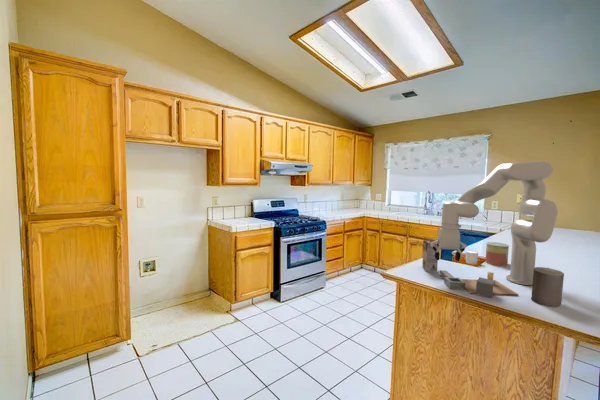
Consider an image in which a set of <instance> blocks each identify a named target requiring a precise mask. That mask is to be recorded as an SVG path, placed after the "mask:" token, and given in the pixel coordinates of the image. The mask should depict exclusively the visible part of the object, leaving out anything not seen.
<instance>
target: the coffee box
mask: <svg viewBox="0 0 600 400" xmlns="http://www.w3.org/2000/svg"><path fill="white" fill-rule="evenodd" d="M422 241H423V243H422V244H423V245H422V269H424V271H425V272H426V273H427V272H428V273H438V264H439V263H438V262H439V260H437V259H436V258H435V251H434V249H433V248H432V246H431V244H430V243H431V242H433V241H434V240H428V239H424V240H422ZM434 246H435V248H436V247H437V246H436V244H434Z"/></svg>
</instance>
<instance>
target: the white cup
mask: <svg viewBox="0 0 600 400" xmlns="http://www.w3.org/2000/svg"><path fill="white" fill-rule="evenodd" d="M464 252H465V262H466V264H468V265H477V263H478V259H479V258H478V257H479V252H478V251H476V250H475V251H474V250H464Z"/></svg>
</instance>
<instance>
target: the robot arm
mask: <svg viewBox="0 0 600 400" xmlns="http://www.w3.org/2000/svg"><path fill="white" fill-rule="evenodd" d="M553 171H554V168H553V166H552V164H551V163H550V162H548V161H545V160H539V161H537V160H536V161H526V162H525V161H524V162H522V161H521V162H504V163H500V164H499V165H498V166H496V167H495V168H494V169H493V170H491V172H490V173H489V174H488V175H487V176H486V177H485V178H484V179H483V180H482V181H481V182H480V183H479V184H477V185H475V186H474V187H472V188H471V189H468V190H467V191H465V192H464V193H463V194H462V195H460V196H459V197H458V199H456V201H455V202H454V201H445V202H444V203H443V204H442V210H441V211H442V212H441V225H440V228H439V229H438V231H437V234H436V235H437V236H436V239H435V240H433V242H431V243H430V244H431V246H432V248H433V249H434V251H435V258H436V259H437V260H438V261H439V260H440V251H441V250H454V251H456V252H455V257H454V258H455V259H454V260H455V261H457V262H460V260H461V254H462V253H463V252H465V251H466V250H465V249H466V248H467V247H468V245H467V244H466V243H464V242H463V241H461V233H460V230H459V229H460V228H462V225H461V224H459V222H460V221H459V219H460V218H467V219H473V218H475V217H477V216H478V214H479V213H480V208H479V207H478V205H476V203H477V202H479V201H481V200H484V199H488V198H491V197H494V196H496V195H497V194H498V193H499V192H500V190H502V189H503V188H504V187H505V186H506V185H507V184H508V183H509V182H510V181H513V182H514V181H515V182H517V181H518V182H519V181H521V183H522V186H523V193H522V195H521V199H520V204H519V214H521V215H522V216H524V217H526V219H525V218H522V219H521V218H519V219H516V220H514V221H513V222H512V223H511V226H510V235H511V256H510V257H511V259H510V270H509V272H510V273H509V274H508V275H506V280H507V281H509V282H511V283H513V284H517V285H522V286H527V287H528V286H530V287H531V286H532V283H533V273H534V268H535V267H536V256H537V245H536V243H546V242H547V241H549V239H551V237H552V235H553V232H554V230H555V226H556V221H557V216H558V206H557V204H556V203H555V202H554V201H552V200H550V199H545V198H546V191H547V188H546V187H547V186H546V183H545V181H544V180H545V179H547V178H549V177H550V176H551V175H552V174H553ZM527 217H528V218H532V219H527ZM434 244H436V246H437V247H436V248H435V246H434Z"/></svg>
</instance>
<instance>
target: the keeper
mask: <svg viewBox="0 0 600 400" xmlns="http://www.w3.org/2000/svg"><path fill="white" fill-rule="evenodd" d="M476 280H477V284H476V294H475V295H477V296H482V297H486V298H490V299H492V298H493V296H494V295H493V285H494V283H495V279H493V280H491V279H487V278H485V277H478V279H476Z"/></svg>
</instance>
